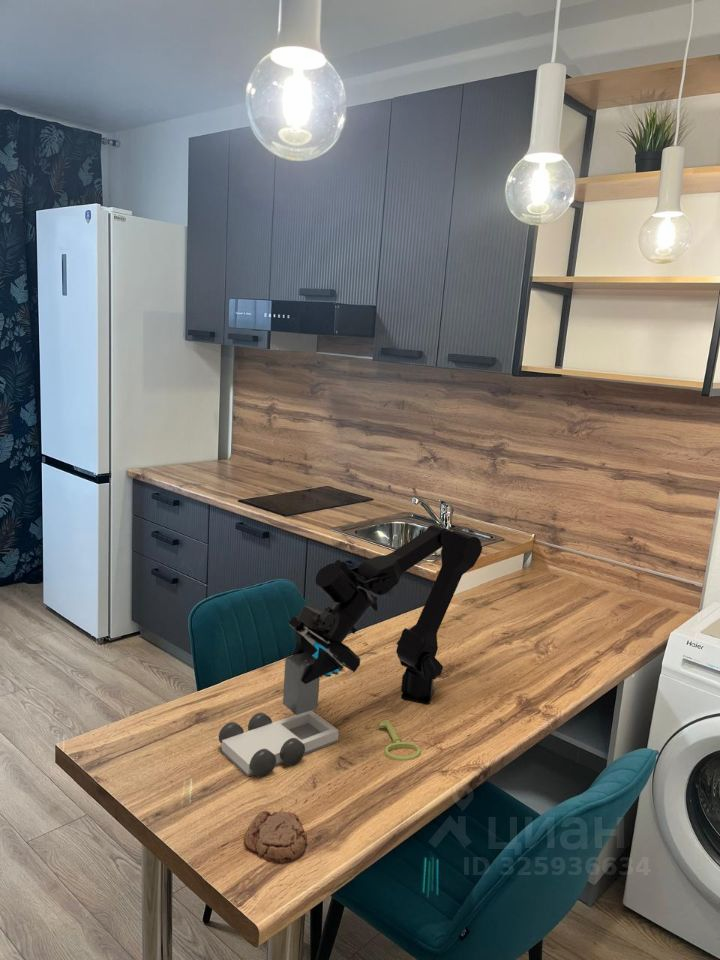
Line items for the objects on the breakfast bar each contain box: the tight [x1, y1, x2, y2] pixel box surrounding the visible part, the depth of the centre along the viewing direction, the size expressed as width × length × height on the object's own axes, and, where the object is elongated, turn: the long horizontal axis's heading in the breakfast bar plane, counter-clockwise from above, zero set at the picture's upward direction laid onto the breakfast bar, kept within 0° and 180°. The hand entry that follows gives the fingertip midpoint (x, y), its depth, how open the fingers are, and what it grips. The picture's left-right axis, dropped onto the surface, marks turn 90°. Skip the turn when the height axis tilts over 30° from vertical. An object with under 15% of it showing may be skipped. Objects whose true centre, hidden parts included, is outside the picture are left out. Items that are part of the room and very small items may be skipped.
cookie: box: [243, 810, 308, 864], centre depth 115 cm, size 10×11×3 cm
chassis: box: [218, 710, 339, 778], centre depth 141 cm, size 21×13×5 cm, turn 131°
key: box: [377, 719, 422, 762], centre depth 145 cm, size 7×12×2 cm, turn 35°
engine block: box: [282, 652, 321, 715], centre depth 144 cm, size 5×5×10 cm
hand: (296, 677), depth 143 cm, fingers closed on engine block, 5 cm apart
